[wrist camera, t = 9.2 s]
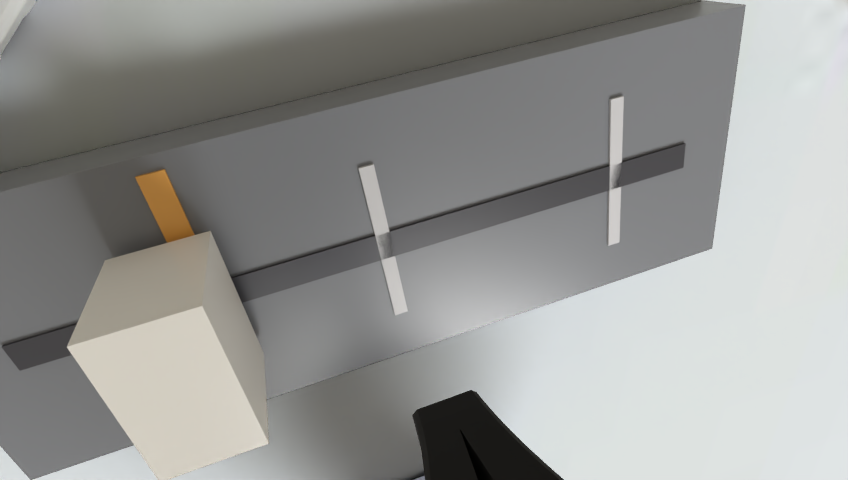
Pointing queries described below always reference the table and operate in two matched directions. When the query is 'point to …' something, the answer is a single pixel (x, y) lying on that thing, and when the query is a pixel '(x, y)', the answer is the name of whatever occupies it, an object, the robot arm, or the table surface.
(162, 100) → the table surface
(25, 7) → the external hard drive
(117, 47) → the table surface
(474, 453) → the robot arm
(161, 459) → the fader tab
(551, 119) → the console
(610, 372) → the table surface
